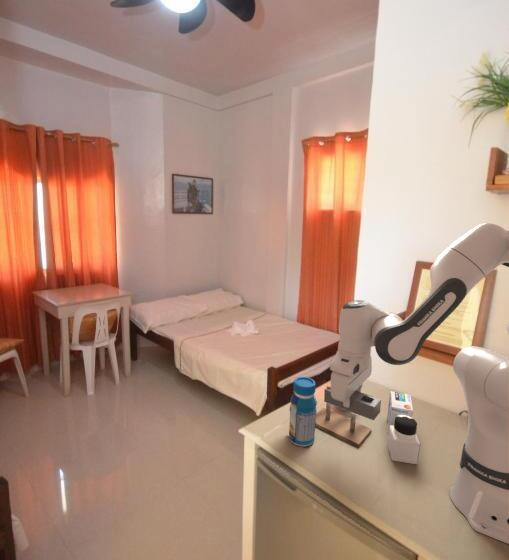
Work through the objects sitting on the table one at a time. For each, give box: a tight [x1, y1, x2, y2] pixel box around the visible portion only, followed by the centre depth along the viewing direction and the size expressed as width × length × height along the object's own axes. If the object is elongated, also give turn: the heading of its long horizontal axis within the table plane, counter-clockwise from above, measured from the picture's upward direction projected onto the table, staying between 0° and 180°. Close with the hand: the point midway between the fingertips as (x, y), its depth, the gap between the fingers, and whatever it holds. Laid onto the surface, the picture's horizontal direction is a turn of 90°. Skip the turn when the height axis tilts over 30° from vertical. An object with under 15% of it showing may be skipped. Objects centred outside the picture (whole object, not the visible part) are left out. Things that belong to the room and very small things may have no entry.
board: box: [315, 402, 372, 449], centre depth 111 cm, size 18×10×7 cm, turn 49°
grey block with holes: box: [323, 382, 382, 421], centre depth 96 cm, size 15×5×5 cm, turn 50°
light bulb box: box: [386, 390, 414, 436], centre depth 111 cm, size 11×7×11 cm, turn 160°
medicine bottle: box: [387, 415, 421, 465], centre depth 99 cm, size 7×7×12 cm
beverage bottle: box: [288, 376, 318, 447], centre depth 104 cm, size 8×8×20 cm
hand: (351, 401), depth 96 cm, fingers closed on grey block with holes, 5 cm apart
